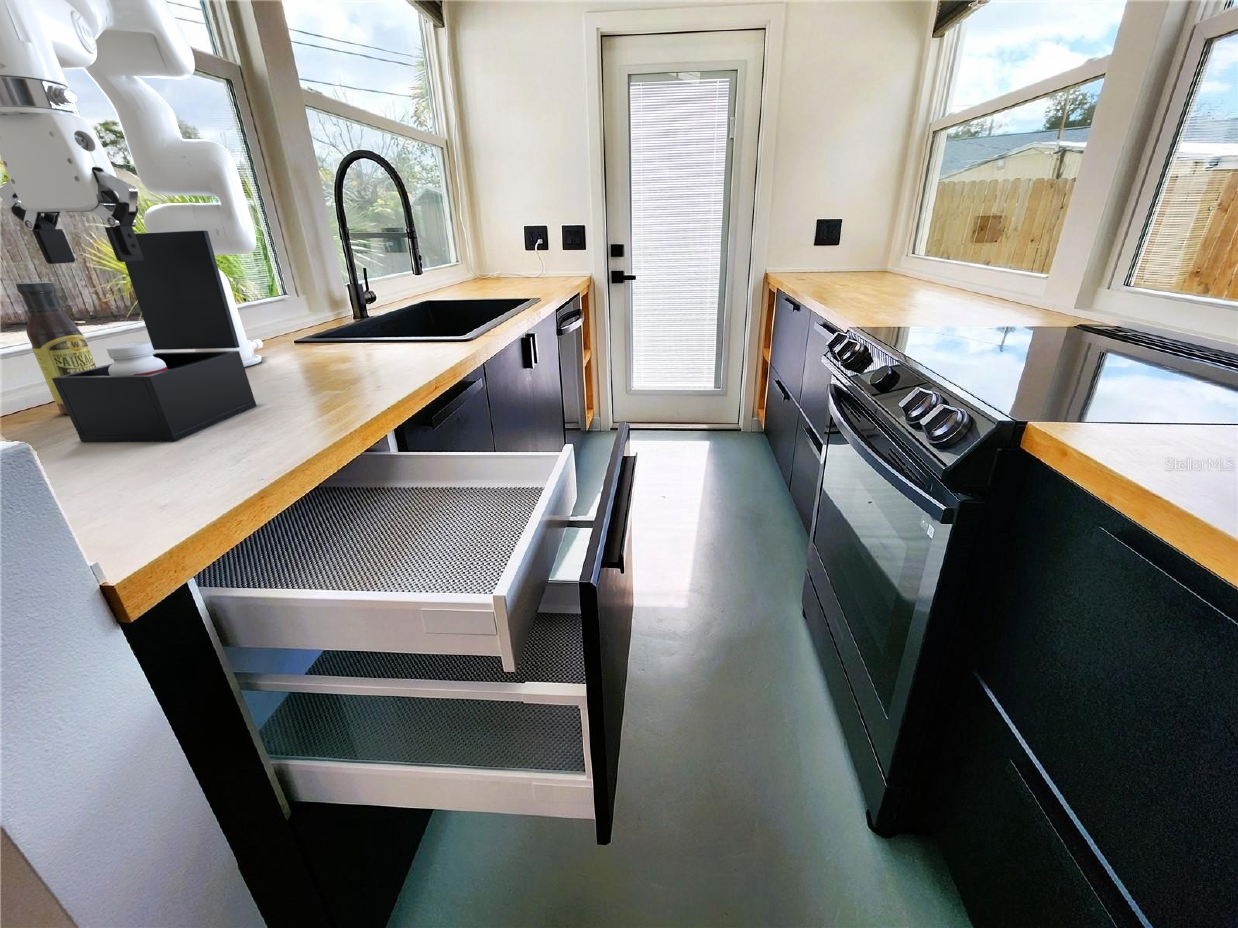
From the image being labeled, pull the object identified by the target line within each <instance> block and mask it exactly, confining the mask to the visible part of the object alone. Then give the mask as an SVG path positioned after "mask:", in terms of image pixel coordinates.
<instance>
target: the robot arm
mask: <svg viewBox="0 0 1238 928" xmlns="http://www.w3.org/2000/svg"><path fill="white" fill-rule="evenodd" d="M195 68H196V61H195V56H194V52H193V49H192V47H191V45H190V42H189V40H188V39H187V36H186V34H185V33H184V31H183V28H182V27H181V25H180V24H179V21H178V20H177V18H176V17H175V15H174V14H173V11H172V10H171V7H170V6H169V4H168V2H167V1H166V0H0V159H1V162H2V164H3V166H4V169H5V172H6V174H7V177H8V179H9V180H8V181H7V182H6V183H4V185H3V186H2V187H0V198H1V200H2V201H3V202H4V203H5V204H6V206H8V208H9V209H11V213H12V214H13V215H14V216H15V217H16V218H18V219H19V220H20V221H22V222H23V225H24V227H25V228H26V229H27V230H30V231H32V234H33V237H34V238H35V240H36V243H37V245H38V247H39V250H40V251H41V254H42V256H43V258H44V261H45V262H46V263H47V264H48V265H57V264H58V265H59V264H69V263H71V264H72V263H75V262H76V257H75V256H74V253H73V251H72V248H71V246H70V244H69V242H68V238H67V237H66V234H65V232H64V231H63V228H57V225H58V223H59V218H60V214H61V212H65V213H95V215H96V216H98V217H99V218H100V219H101V220H103V221H104V223H106V224H107V225H108V226H105V227H104V231H105V234H106V236H107V238H108V240H109V244H110V247H111V249H112V251H113V253H114V256H115V258H116V259H115V260H116V261H118V262H119V263H125V262H131V261H142V260H144V257H143V254H142V252H141V249H140V246H139V244H138V241H137V238H136V236H135V231H134V228H133V227H136V226H137V222H136V221H137V220H136V217H137V215H138V213H139V207H138V199H139V190H138V187H137V186H135V185H133V184H131V183H129V182H127V181H125V180H123V179H121V178H118V176H117V174H116V172H115V171H116V170H115V169H114V167H113V165H112V162H111V160H110V158H109V155H108V154H107V153H106V149H105V148H104V146H103V145H102V142H101V141H100V139H99V137H98V135H97V134H96V131H95V130H94V129H93V127H92V126H91V124H90V122H89V121H88V120H87V119H86V118H84V117H81V116H80V115H79V112H78V108H77V106H76V103H77V101H78V97H77V95H76V94H75V92H73V90H71V89H70V88H69V86H68V82H67V80H66V77H65V75H64V72H63V70H62V69H69V70H76V69H77V70H78V69H82V70H83V71H85V73H86V74H87V75H88V77H90V79H91V80H92V81H93V82H94V83H95V85H96V86H97V88H98V89H99V90H100V91H101V92H102V93H103V95H104V96H105V98H106V99H107V100H108V101H109V103H110V105H111V107H112V109H113V110H114V112H115V114H116V117H117V120H118V122H119V125H120V128H121V131H122V134H123V137H124V140H125V143H126V146H127V148H128V151H129V155H130V157H131V160H132V164H133V165H134V169H135V171H136V174H137V176H138V178H139V180H140V182H141V184H142V185H143V187H144V188H145V189H147V190H148V191H149V192H152V193H153V194H156V195H161V196H169V197H173V196H174V197H178V196H179V197H183V196H184V197H186V196H187V197H189V196H190V197H193V196H194V197H195V196H196V197H198V196H200V197H208V196H209V197H210V196H211V197H214V198H216V199H217V200H218V201H219V202H206V203H205V202H203V203H202V202H201V203H199V202H198V203H197V202H186V203H183V202H181V203H180V202H179V203H161V204H156V205H153V206H151V207H149V208H148V209H147V210H146V211H145V212H144V215H143V224H144V228H145V231H146V233H155V232H179V231H202V230H204V231H208V233H209V237H210V241H211V244H212V248H213V252H214V255H215V256H230V255H232V256H233V255H245V254H246V255H247V254H250V253H252V252H254V251H255V250H256V248H257V243H258V241H257V235H256V231H255V226H254V223H253V220H252V216H251V212H250V210H249V205H248V202H247V198H246V195H245V192H244V188H243V185H242V181H241V178H240V174H239V171H238V169H237V166H236V164H235V161H234V159H233V157H232V155H231V153H230V152H229V151H228V149H227V148H226V147H225V146H224V145H222V144H221V143H219V142H217V141H213V140H209V139H190V138H189V139H185V138H183V137H182V134H181V132H180V128H179V125H178V122H177V119H176V116H175V113H174V110H173V108H171V106H170V104H168V103H167V101H166V100H165V99H164V98H163V97H162V96H160V94H159V93H158V92H156V91H155V90H154V89H153V88H152V87H150V85H148V84H147V83H145V81H143V80H142V79H141V78H155V79H171V80H172V79H173V80H184V79H189V78H190V77H192V76H193V75H194V73H195ZM139 77H140V78H139ZM42 214H43V215H42ZM218 270H219V273H220V277H221V281H222V284H223V288H224V292H225V295H226V299H227V302H228V306H229V310H230V313H231V317H232V321H233V324H234V328H235V331H236V335H237V339H238V342H239V346H240V347H239V348H219V349H194V352H208V351H239V352H240V356H241V359H242V362H243V365H244V368H245V367H246V368H247V367H251V366H253V365H257V364H260V363H261V362H262V360H263V358H262V356H261V354H256V353H255V352H254V351H255V350H258V349H262V348H263V347H264V342H263V341H262V340H261V339H254V340H251V339H248V338H247V334H246V331H245V329H244V324H243V322H242V319H241V315H240V311H239V310H238V306H237V303H236V300H235V297H234V294H233V293H234V292H233V291H232V287H231V284H230V283H231V282H229V281H230V280H229V279H228V277H227V276H226V274H225V273H224V272H223V270H221V269H220V268H218Z"/></svg>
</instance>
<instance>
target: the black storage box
mask: <svg viewBox="0 0 1238 928" xmlns="http://www.w3.org/2000/svg"><path fill="white" fill-rule="evenodd" d="M153 356H154V357H155V358H159V359H161V360H163V361H164V362H165V364H166V366H167V369H168V370H165V371H161V372H158V373H154V374H151V375H124V376H110V375H109V372H108V369H109V367H110V365H112V364H113V363H114V362H112V363H107V364H105V365H100V366H96V368H92V369H88V370H84V371H80V372H75V373H71V374H67V375H63V376H59V377H55V378H52V380H53V382H54V384H55V387H56V389H57V391H58V393H59V395H60V397H61V399H62V401H63V403H64V406H65V408H66V410H67V412H68V414H67V415H68V416H69V418H70V421H71V422H72V425H73V426H74V429H75V431H76V433H77V436H78V438H79V440H80V442H81V443H142V442H143V443H144V442H145V443H147V442H149V443H154V442H155V443H157V442H161V443H162V442H177V441H179V440H181V439H185V438H186V437H188V436H191V435H193V434H195V433H198V432H200V431H203V430H205V429H207V428H209V427H211V426H214V425H217V424H218V423H220V422H223V421H225V420H228V419H230V418H232V417H235V416H236V415H239V414H242V413H244V412H246V411H248V410H251V409H253V408H255V407H257V403H256V400H255V395H254V393H253V390H252V387H251V384H250V381H249V378H248V374H247V371H246V368H245V367H244V365H243V362H242V359H241V356H240V352H239V351H208V352H196V351H171V352H169V351H167V352H166V351H165V352H163V351H162V352H154V353H153Z"/></svg>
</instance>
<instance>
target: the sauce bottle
mask: <svg viewBox="0 0 1238 928" xmlns="http://www.w3.org/2000/svg"><path fill="white" fill-rule="evenodd" d="M15 287H16V290H17V292H18V293H19V294H20V295H21V296H22V299H23V302H24V303H25V306H26V308H27V309H26V311H27V313H28V315H29V318H28V320H27V322H26V335H27V338H28V340H29V342H30V344H31V350H32V352H33V354H34V356H35V359H36V361H37V363H38V366H39V368H40V370H41V372H42V375H43V378H44V380H45V382H46V385H47V386H48V389H49V391H50V394H51V396H52V398H53V401H54V403H55V404H56V405H57V407H58V410H59V412H60V413H61V414H64V415H69V414H68V412H67V410H66V408H65V406H64V403H63V401H62V399H61V397H60V395H59V393H58V391H57V389H56V387H55V384H54V382H53V380H52V378H55V377H59V376H63V375H67V374H71V373H75V372H80V371H84V370H88V369H92V368H96V367H97V366H96V363H95V360H94V358H93V355H92V353H91V350H90V347H89V344H88V342H87V340H86V337H85V335H84V334H83V333H82V332H81V330H80V329H79V328H78V327H77V325H76V323H75V322H74V321H73V320H72V319H70V318H69V316H68V315H67V314H66V313H65V311H64V308H63V306H62V305H61V302H60V300H59V298H58V295H57V288H56V286H55V284H54V282H52V281H32V282H17V283H15Z"/></svg>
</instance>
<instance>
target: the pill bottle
mask: <svg viewBox="0 0 1238 928" xmlns="http://www.w3.org/2000/svg"><path fill="white" fill-rule="evenodd" d="M106 351H107V354H108V357H109V358H110V360H113V362H112V363H113V364H112V363H111V364H112V365H110V367H109V369H108V372H109V375H110V376H124V375H151V374H154V373H158V372H161V371H165V370H168V369H167V366H166V364H165V362H164V361H163V360H161V359H159V358H155V357H154V356H153V353H155V352H154V351H155V350H154V349H153V346H152V343H151V341H137V342H128V343H122V344H116V345H112V346H108V347H106Z"/></svg>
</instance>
